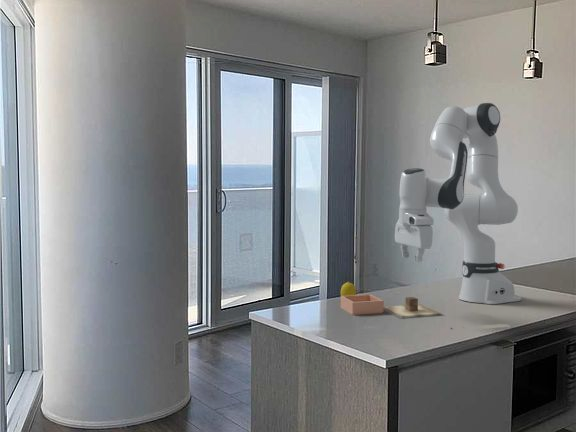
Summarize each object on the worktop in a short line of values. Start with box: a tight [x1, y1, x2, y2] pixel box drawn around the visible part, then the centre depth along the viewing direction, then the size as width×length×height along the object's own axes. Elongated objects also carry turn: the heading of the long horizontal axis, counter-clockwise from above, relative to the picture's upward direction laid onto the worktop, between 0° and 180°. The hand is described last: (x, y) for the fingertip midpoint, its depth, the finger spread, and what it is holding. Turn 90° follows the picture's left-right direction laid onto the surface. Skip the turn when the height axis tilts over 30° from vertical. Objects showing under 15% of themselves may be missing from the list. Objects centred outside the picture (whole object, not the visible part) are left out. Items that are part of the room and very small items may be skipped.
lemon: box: [340, 281, 357, 297], centre depth 226 cm, size 6×6×8 cm
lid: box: [384, 296, 442, 319], centre depth 209 cm, size 14×14×5 cm
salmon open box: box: [340, 293, 385, 316], centre depth 211 cm, size 11×11×5 cm
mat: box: [383, 309, 446, 320], centre depth 209 cm, size 16×16×1 cm
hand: (412, 259), depth 207 cm, fingers open, 8 cm apart
